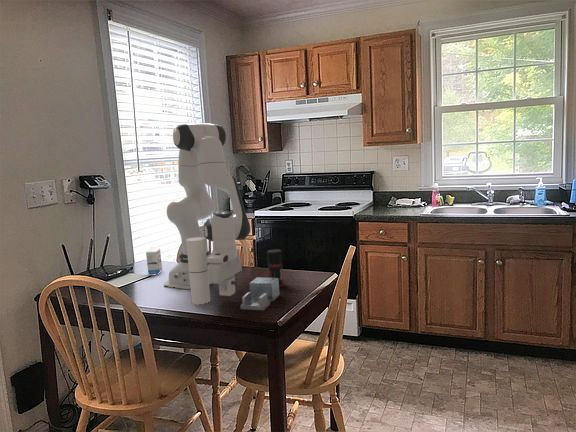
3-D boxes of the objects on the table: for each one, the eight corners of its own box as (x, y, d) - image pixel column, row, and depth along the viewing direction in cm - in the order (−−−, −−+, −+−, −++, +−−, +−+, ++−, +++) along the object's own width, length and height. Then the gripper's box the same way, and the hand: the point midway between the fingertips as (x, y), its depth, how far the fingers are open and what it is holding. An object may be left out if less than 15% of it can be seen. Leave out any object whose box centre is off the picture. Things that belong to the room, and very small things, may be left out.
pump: (234, 296, 180) (233, 281, 179) (219, 295, 182) (218, 280, 182) (239, 292, 184) (239, 277, 183) (225, 291, 187) (224, 276, 186)
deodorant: (281, 287, 197) (279, 252, 195) (268, 287, 198) (265, 252, 196) (284, 283, 203) (282, 249, 201) (271, 283, 204) (268, 249, 202)
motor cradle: (263, 310, 170) (262, 291, 169) (240, 309, 173) (239, 290, 172) (281, 293, 189) (279, 276, 188) (260, 292, 192) (258, 275, 191)
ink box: (158, 275, 232) (155, 251, 230) (148, 275, 232) (145, 252, 230) (162, 270, 240) (160, 248, 238) (153, 271, 240) (150, 248, 239)
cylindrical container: (194, 305, 180) (188, 241, 177) (190, 300, 187) (184, 238, 183) (212, 302, 183) (206, 239, 180) (207, 297, 190) (202, 236, 186)
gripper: (230, 247, 192) (232, 280, 194) (204, 259, 173) (206, 295, 175) (244, 248, 190) (246, 281, 192) (219, 260, 171) (221, 297, 173)
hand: (227, 288), depth 183 cm, fingers closed on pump, 4 cm apart
